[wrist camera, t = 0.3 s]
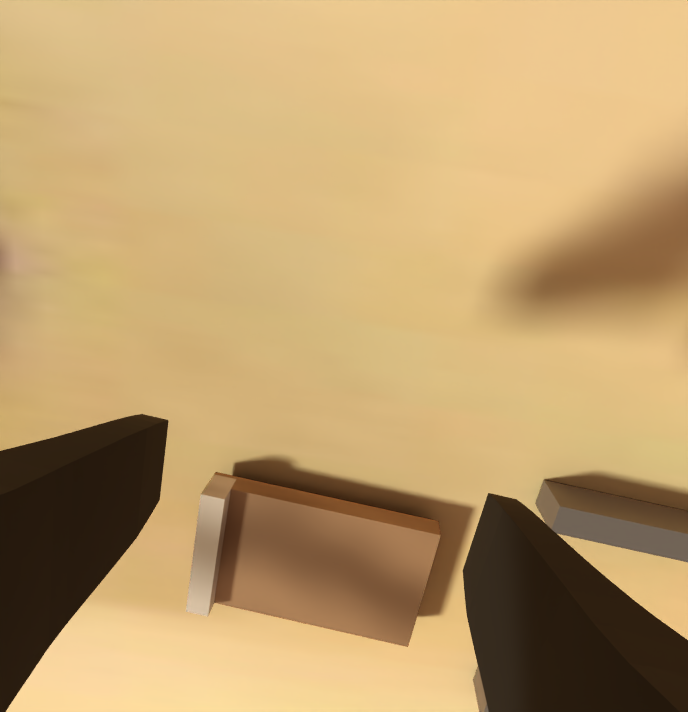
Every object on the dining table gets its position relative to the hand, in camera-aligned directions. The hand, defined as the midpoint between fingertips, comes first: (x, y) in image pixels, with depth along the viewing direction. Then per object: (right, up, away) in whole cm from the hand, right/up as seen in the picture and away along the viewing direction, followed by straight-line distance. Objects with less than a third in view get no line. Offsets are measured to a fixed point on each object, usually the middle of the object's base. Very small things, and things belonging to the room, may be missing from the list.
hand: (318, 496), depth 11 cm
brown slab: (-1, -6, +12) cm, 13 cm away
